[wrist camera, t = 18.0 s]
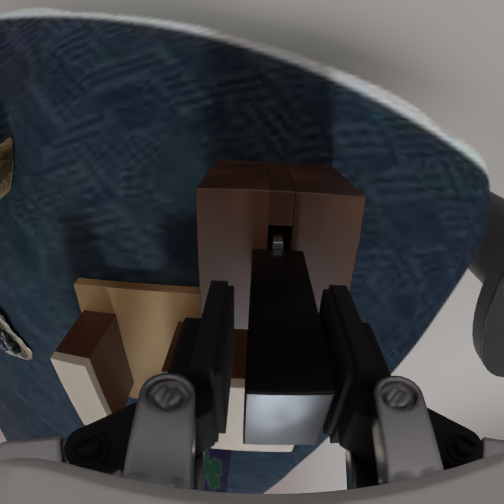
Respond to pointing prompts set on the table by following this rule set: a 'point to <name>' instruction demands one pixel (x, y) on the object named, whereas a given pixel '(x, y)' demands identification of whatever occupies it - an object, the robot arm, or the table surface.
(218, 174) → the knife block
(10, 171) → the rock
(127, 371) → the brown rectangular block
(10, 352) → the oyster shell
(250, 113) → the table surface
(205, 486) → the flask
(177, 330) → the cake loaf
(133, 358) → the board
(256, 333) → the knife
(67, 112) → the table surface
